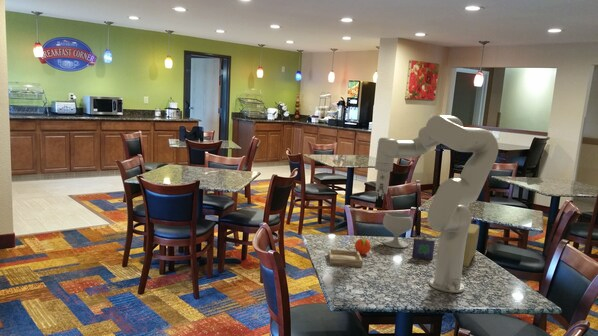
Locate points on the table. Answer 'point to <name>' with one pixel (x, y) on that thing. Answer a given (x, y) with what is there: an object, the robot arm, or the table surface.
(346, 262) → the tray
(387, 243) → the chalice
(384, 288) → the table surface
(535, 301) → the table surface
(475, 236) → the cheese
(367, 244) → the clementine
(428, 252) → the flask
